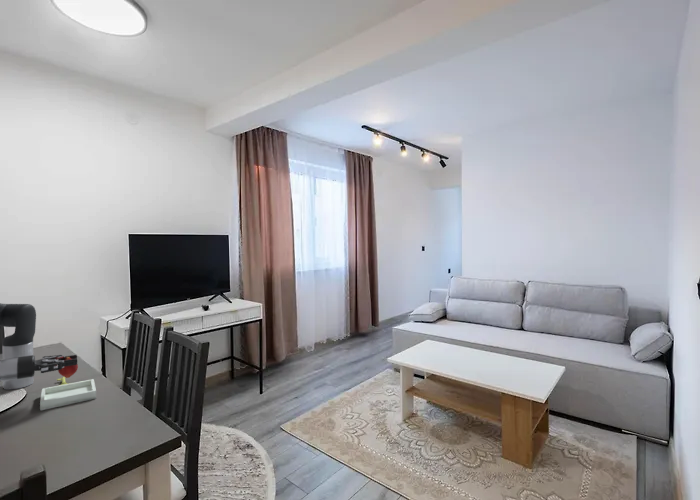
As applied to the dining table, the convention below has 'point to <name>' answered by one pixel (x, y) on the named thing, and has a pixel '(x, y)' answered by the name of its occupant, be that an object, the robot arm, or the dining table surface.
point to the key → (62, 381)
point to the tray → (67, 394)
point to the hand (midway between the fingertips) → (76, 359)
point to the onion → (68, 369)
